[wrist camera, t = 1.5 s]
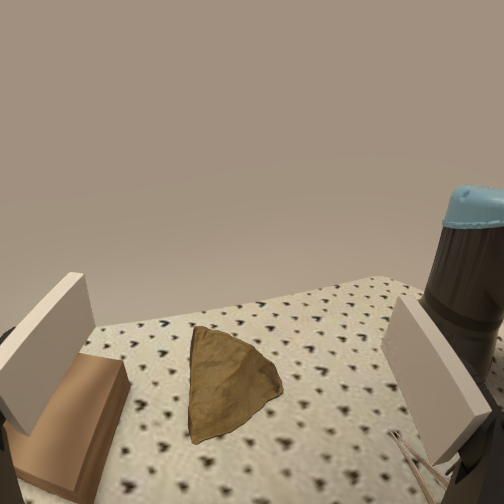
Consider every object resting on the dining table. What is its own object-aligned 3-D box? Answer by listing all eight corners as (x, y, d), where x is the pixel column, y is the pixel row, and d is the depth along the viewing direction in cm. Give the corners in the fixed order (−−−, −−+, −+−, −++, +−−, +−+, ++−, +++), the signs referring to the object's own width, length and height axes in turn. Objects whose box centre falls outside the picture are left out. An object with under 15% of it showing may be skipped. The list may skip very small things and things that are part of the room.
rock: (279, 347, 34) (189, 340, 32) (309, 328, 26) (193, 318, 24) (278, 441, 28) (183, 438, 27) (310, 450, 21) (185, 450, 19)
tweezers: (474, 519, 13) (486, 510, 12) (439, 546, 12) (451, 540, 11) (389, 413, 29) (395, 402, 28) (355, 427, 27) (360, 416, 27)
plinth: (130, 386, 29) (122, 360, 27) (92, 508, 15) (73, 491, 14) (25, 362, 28) (14, 337, 27) (-28, 451, 15) (-49, 427, 13)
